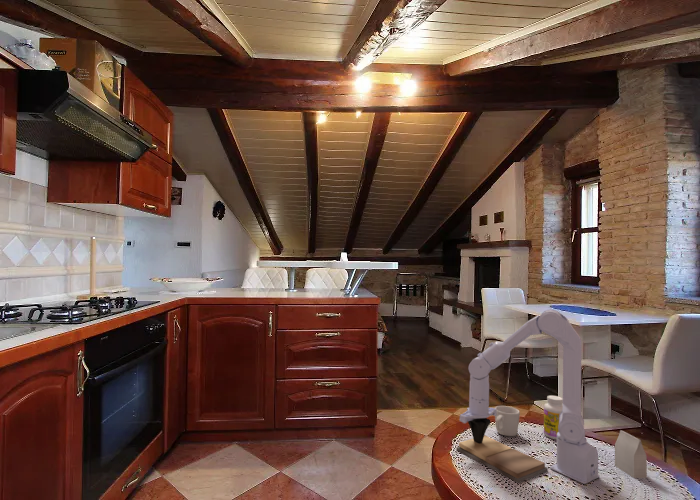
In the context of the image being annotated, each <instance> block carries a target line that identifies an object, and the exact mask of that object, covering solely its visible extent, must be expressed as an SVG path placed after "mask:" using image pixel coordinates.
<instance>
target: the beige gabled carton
mask: <svg viewBox="0 0 700 500" xmlns="http://www.w3.org/2000/svg"><path fill="white" fill-rule="evenodd" d="M647 459H648V457H647V453H646V451H645V449H644V446H643V443H642V440H641V439H639V438H638V437H635V436H634V435H633V434H632V435H631V434H630V433H628V432H626V431H624V430H621V429H620V430H619V434H618V437H617V439H616V441H615V443H614V466H615V467H616V468H618V469H619V470H621V471H622V472H623V473H625V474H627V475H628V476H630V477H631V478H633V479H647V478H648V477H647V476H648V473H647V472H648V470H647V468H648V467H647V465H648V464H647V463H648V462H647V461H648V460H647Z"/></svg>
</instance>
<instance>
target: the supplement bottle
mask: <svg viewBox="0 0 700 500" xmlns="http://www.w3.org/2000/svg"><path fill="white" fill-rule="evenodd" d="M546 400H547V403H544V406H543V434H544V436H546V437H547V438H549V439H551V440H556V441H557V433H558V432H559V431H558V425H559V415H560V413H561V412H562V409H563V397H560V396H558V395H547V397H546Z"/></svg>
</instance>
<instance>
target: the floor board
mask: <svg viewBox="0 0 700 500" xmlns="http://www.w3.org/2000/svg"><path fill="white" fill-rule="evenodd" d="M455 449H456V451H457V452H459V453H461V454H463V455H464V456H466V457H469V458H470V459H472V460H473V461H476V462H478V463H480V464H482V465H484V466H485V467H487V468H489V469H491V470H493V471H495V472H496V473H498V474H500V475H502V476H504V477H506V478H508V479H510V480H511V481H512V482H513V481H514V482H515V483H516V484H519V483H522V482H525V481H527V480H529V479H531V478H534V477H536V476H537V477H538V476H540V475H541V474H543V473H546V472H548V470H549V468H548V467H546V463H545V462H543V461H541V460H539V459H537V458H534V457H533V456H530V455H528V454H525V453H523V452H522V451H520V450H517V449H515V448H512V449H510V450H507V451H504V452H501V453H498V454H495V455H492V456H489V457H486V461H484V460H483V459H481V458H479V457H477V456H475V455H473V454H472V453H470V452H468V451H466V450H464V449H463V448H461V447H459V446H458V447H456V448H455Z"/></svg>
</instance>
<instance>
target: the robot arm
mask: <svg viewBox="0 0 700 500" xmlns="http://www.w3.org/2000/svg"><path fill="white" fill-rule="evenodd" d="M542 333H545V334H546V335H548V336H550V337H552V338H554V339H555V340H556V341H558V343H560V344H561V345H562V346H563V347H562V348H563V349H562V351H563V352H562V353H563V354H562V399H563V403H562V405H563V409H562V412H561V413H560V415H559V425H558V431H559V432H558V433H557V440H556V463H554V464H552V465H550V466H549V469H551V470H553V471H555V472H557V473H560V474H561V475H563V476H566V477H567V478H570V479H571V480H574V481H576V482H578V483H581V484H584V485H585V484H588V483H590V482H592V481H594V480H596V479H598V478H600V474H599V452H598V449H597V448H596V447H595V446H593V445H591V444H590V443H588V441H587V440H588V439H587V437H586V430H585V419H584V417H583V416H582V337H581V336H580V335H579V333H578V332H577V331H576V329H575V328H574V327H573V325H572V323H570V321H569V320H568V318H567V316H565V315H564V314H562V313H560V311H558V310H555V309H551V308H550V309H546V310H544V311H543V312H541V314H538V315H536V316H534V317H532V318H531V319H529V320H527V321H526V322H524V324H523V325H521V326H520V327H518V329H517V330H516V331H514V332H513V333H512V334H511V335H509V336H508V337H507V338H506V339H505V340H504V341H498V340H496V341H495V342H493V341H492V342H490V343H489V344H488V348H486V349H485V350H484V351H482V352H479V353H478V354H477V357H474V358H472V360H471V361H470V363H469V364H468V368H467V369H468V372H469V391H468V392H469V396H468V397H469V399H468V401H469V402H468V407H467V408H466V411H465V412H463V413H461V414H459V422H461V423H462V424H467V423H468V425H469V427H470V430H471V433H472V434H471V435H472V439H474V441H475V442H477V443H479V444H480V443H482V441H483V438H484V435H485V434H486V431H487V429H488V427H489V426H490V425H491V419H489V417H490V416H493V417H495V416H496V415H497V409H495V407H489V405H490V382H489V381H490V375H489V374H490V372H492V371H491V370H494V369H495V370H496V368H498V367H499V366H501V364H503V363H504V362H505V361H507V359H509V358H510V357H511V351H512V350H513V349H514V348H516V347H517V346H518V345H519V344H521V343H522V342H524V341H525V340H526V339H528V338H529V337H530V336H535V335H542ZM485 436H486V435H485Z"/></svg>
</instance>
